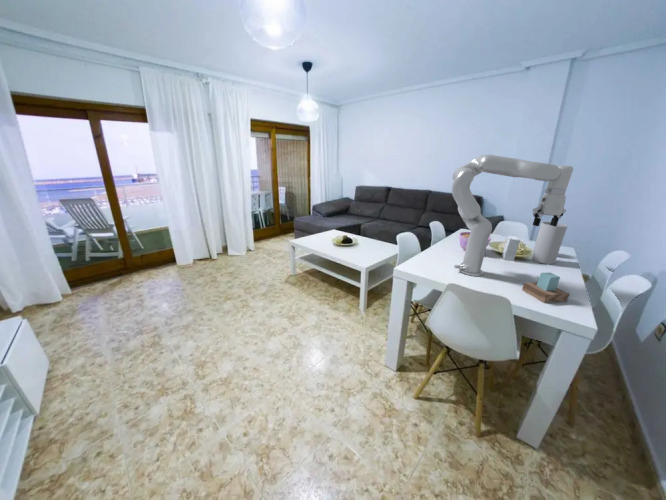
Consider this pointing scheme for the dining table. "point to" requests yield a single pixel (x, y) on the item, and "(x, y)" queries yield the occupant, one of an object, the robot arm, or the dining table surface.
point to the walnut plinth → (545, 293)
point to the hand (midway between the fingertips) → (544, 225)
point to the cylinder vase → (548, 243)
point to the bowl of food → (464, 239)
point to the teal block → (548, 281)
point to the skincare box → (510, 248)
